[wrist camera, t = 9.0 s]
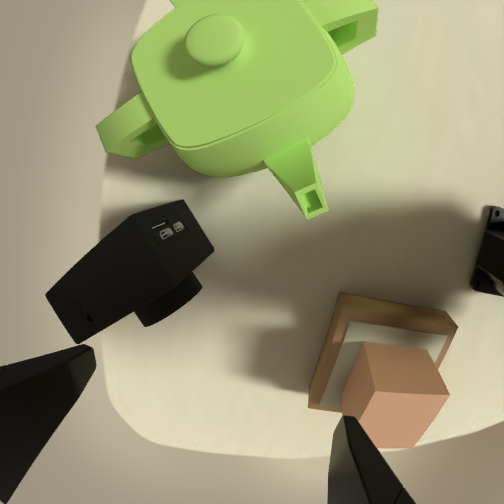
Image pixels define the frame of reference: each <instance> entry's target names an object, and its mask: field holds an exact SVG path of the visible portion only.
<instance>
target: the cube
mask: <svg viewBox="0 0 504 504" xmlns="http://www.w3.org/2000/svg"><path fill="white" fill-rule="evenodd" d="M449 396H450V394H449V392H448V390H447V388H446V386H445V384H444V382H443V380H442V378H441V376H440V374H439V372H438V370H437V368H436V366H435V364H434V362H433V360H432V358H431V356H430V354H429V352H428V350H427V349H421V348H412V347H404V346H396V345H388V344H381V343H374V342H367V341H363V343H362V346H361V349H360V351H359V354H358V356H357V359H356V361H355V364H354V366H353V369H352V371H351V374H350V376H349V378H348V381H347V383H346V385H345V387H344V390H343V392H342V394H341V401H342V416H344V415H346V416H354V417H356V419H357V420H358V422H359V423H360V425H361V426H362V427H363V429H364V430H365V432H366V433H367V435H368V436H369V438H370V439H371V440H372V442H373V443H374V445H375V446H376V448H413V447H414V445H415V444H416V443H417V442H418V440H419V439H420V438H421V436H422V435H423V434H424V432H425V431H426V430H427V428H428V427H429V426H430V424H431V423H432V421H433V420H434V418H435V417H436V416H437V414H438V413H439V411H440V410H441V408H442V407H443V405H444V404H445V402H446V400H447V399H448V397H449Z"/></svg>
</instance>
